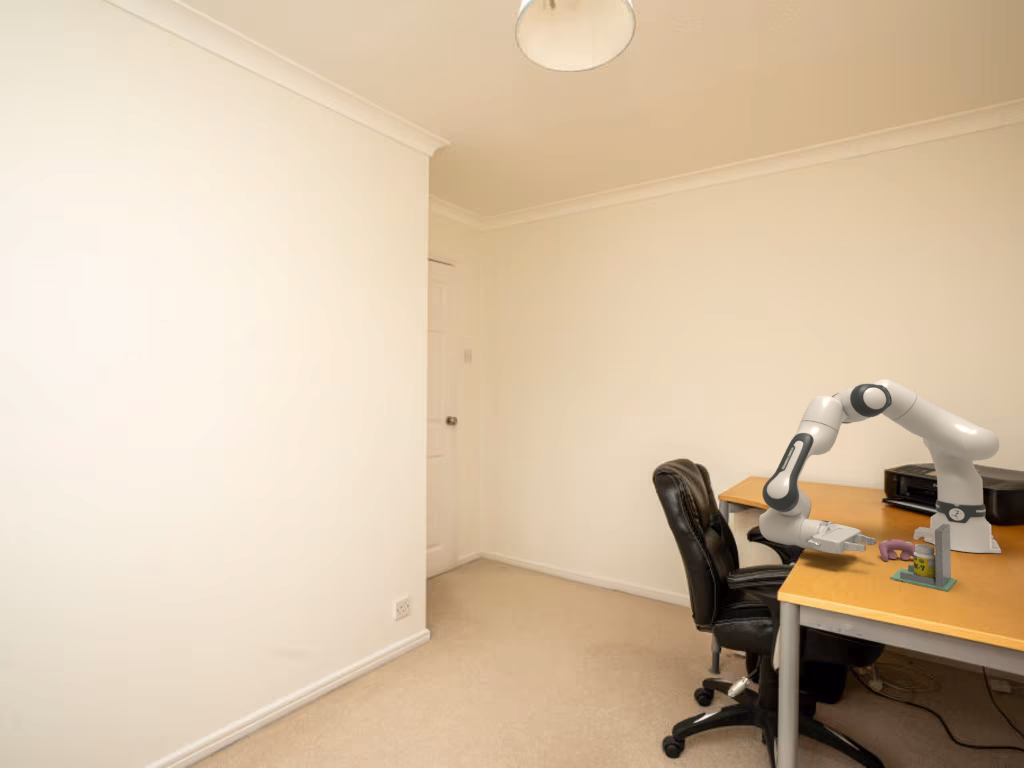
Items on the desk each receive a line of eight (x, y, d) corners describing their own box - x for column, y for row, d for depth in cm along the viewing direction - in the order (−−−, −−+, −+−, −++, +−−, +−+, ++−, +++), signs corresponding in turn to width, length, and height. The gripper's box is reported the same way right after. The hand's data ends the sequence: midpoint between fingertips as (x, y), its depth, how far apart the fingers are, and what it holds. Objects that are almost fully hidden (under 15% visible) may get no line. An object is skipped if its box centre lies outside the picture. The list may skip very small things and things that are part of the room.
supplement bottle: (909, 575, 142) (908, 543, 142) (925, 575, 142) (925, 543, 142) (924, 582, 137) (924, 549, 137) (941, 581, 137) (941, 548, 137)
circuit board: (901, 569, 148) (901, 568, 148) (956, 581, 139) (956, 579, 139) (890, 579, 140) (890, 577, 140) (948, 591, 131) (948, 589, 131)
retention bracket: (909, 570, 146) (908, 518, 146) (951, 578, 139) (949, 524, 139) (899, 578, 139) (898, 524, 139) (943, 587, 133) (941, 531, 133)
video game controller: (918, 566, 155) (913, 542, 158) (924, 563, 151) (919, 538, 154) (879, 563, 158) (874, 539, 161) (884, 560, 154) (879, 536, 157)
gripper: (802, 530, 152) (858, 540, 142) (827, 519, 165) (880, 527, 155) (802, 553, 152) (858, 564, 141) (828, 539, 165) (880, 549, 155)
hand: (870, 545), depth 148 cm, fingers open, 8 cm apart
